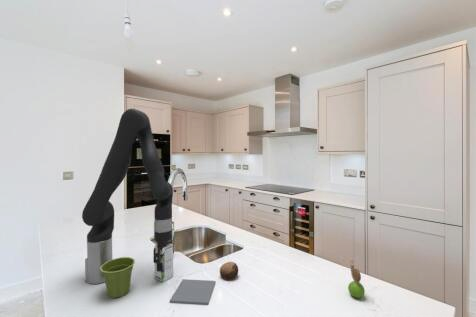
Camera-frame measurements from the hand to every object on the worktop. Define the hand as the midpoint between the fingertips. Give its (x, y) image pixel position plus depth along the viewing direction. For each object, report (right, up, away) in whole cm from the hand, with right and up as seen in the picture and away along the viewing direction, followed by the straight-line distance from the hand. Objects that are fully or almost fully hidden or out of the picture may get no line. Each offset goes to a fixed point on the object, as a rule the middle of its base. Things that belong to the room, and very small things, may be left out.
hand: (163, 266), depth 99 cm
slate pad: (+15, -5, -10) cm, 19 cm away
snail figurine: (+76, -5, -13) cm, 77 cm away
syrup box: (0, -5, 0) cm, 5 cm away
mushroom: (+28, -5, +1) cm, 29 cm away
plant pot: (-14, -6, -11) cm, 18 cm away
